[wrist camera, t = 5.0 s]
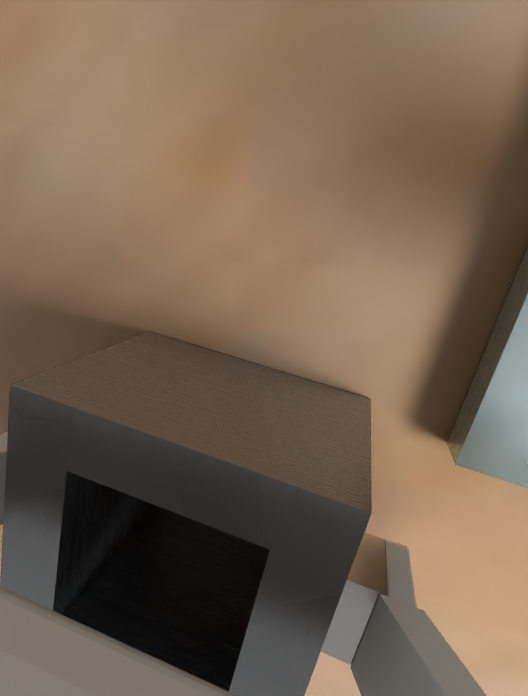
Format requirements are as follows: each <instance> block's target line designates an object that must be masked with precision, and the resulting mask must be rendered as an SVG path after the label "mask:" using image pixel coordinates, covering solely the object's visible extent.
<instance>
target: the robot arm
mask: <svg viewBox="0 0 528 696" xmlns="http://www.w3.org/2000/svg"><path fill="white" fill-rule="evenodd" d="M7 438H8V431H7V432H5V433H3V434H1V435H0V525H1V524H3V520H4V500H5V479H6V459H7ZM321 652H323V653H326V654H328V655H330V656H332V657H334V658H337V659H339V660H341V661H343V662H345V663H347V664H350V665H351V670H352V673H353V675H354V678H355V680H356V683H357V685H358V688H359V690H360V693H361V696H486V694H485V693H484V692H483V690H482V689H481V687H480V686H479V685H478V683H477V682H476V681H475V679H474V678H473V677H472V675H471V674H470V673H469V671H468V670H467V668H466V667H465V666H464V664H463V663H462V662H461V660H460V659H459V658H458V656H457V655H456V654H455V652H454V651H453V649H452V648H451V647H450V645H449V644H448V643H447V641H446V640H445V639H444V637H443V636H442V635H441V633H440V632H439V630H438V629H437V628H436V626H435V625H434V624H433V622H432V621H431V620H430V618H429V617H428V616H427V614H426V613H425V611H423V610H421V609H418V608H417V606H416V598H415V591H414V584H413V577H412V569H411V562H410V555H409V549H408V548H407V546H405V545H402V544H399V543H396V542H393V541H390V540H387V539H381V538H379V537H376V536H373V535H370V534H367V533H365V532H364V535H363V537H362V540H361V543H360V546H359V548H358V551H357V554H356V556H355V559H354V562H353V565H352V567H351V570H350V573H349V575H348V578H347V581H346V584H345V586H344V589H343V592H342V594H341V597H340V600H339V603H338V605H337V608H336V611H335V613H334V616H333V619H332V621H331V624H330V627H329V630H328V632H327V635H326V638H325V640H324V643H323V646H322V649H321ZM0 696H237V695H235V694H233V693H230V692H228V691H226V690H224V689H222V688H220V687H218V686H215V685H213V684H211V683H209V682H207V681H205V680H202V679H200V678H198V677H196V676H194V675H192V674H189V673H187V672H185V671H183V670H181V669H179V668H176V667H174V666H172V665H170V664H168V663H166V662H163V661H161V660H159V659H157V658H155V657H153V656H151V655H148V654H146V653H144V652H142V651H140V650H138V649H135V648H133V647H131V646H129V645H127V644H125V643H122V642H120V641H118V640H116V639H114V638H112V637H109V636H107V635H105V634H103V633H101V632H98V631H96V630H94V629H92V628H90V627H88V626H85V625H83V624H81V623H79V622H77V621H75V620H72V619H70V618H68V617H66V616H64V615H62V614H59V613H57V612H55V611H53V610H51V609H49V608H46V607H44V606H42V605H40V604H38V603H36V602H33V601H31V600H29V599H27V598H25V597H23V596H20V595H18V594H16V593H14V592H12V591H10V590H7V589H5V588H3V587H1V586H0Z"/></svg>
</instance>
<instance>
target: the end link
mask: <svg viewBox="0 0 528 696" xmlns="http://www.w3.org/2000/svg"><path fill="white" fill-rule="evenodd" d="M370 516H371V399H369V398H366V397H362V396H359V395H356V394H353V393H349V392H346V391H343V390H340V389H336V388H333V387H330V386H326V385H323V384H320V383H317V382H313V381H310V380H307V379H304V378H300V377H297V376H294V375H291V374H287V373H284V372H281V371H278V370H274V369H271V368H268V367H264V366H261V365H258V364H255V363H251V362H248V361H245V360H242V359H238V358H235V357H232V356H229V355H225V354H222V353H219V352H215V351H212V350H209V349H206V348H202V347H199V346H196V345H193V344H189V343H186V342H183V341H180V340H176V339H173V338H170V337H166V336H163V335H160V334H157V333H153V332H150V331H148V332H146V333H143V334H140V335H138V336H135V337H133V338H130V339H128V340H125V341H122V342H120V343H117V344H115V345H112V346H109V347H107V348H104V349H102V350H99V351H96V352H94V353H91V354H89V355H86V356H84V357H81V358H78V359H76V360H73V361H71V362H68V363H65V364H63V365H60V366H58V367H55V368H52V369H50V370H47V371H45V372H42V373H40V374H37V375H34V376H32V377H29V378H27V379H24V380H21V381H19V382H16V383H14V384H11V385H10V397H9V417H8V438H7V459H6V479H5V500H4V520H3V541H2V561H1V582H0V586H1V587H3V588H5V589H7V590H10V591H12V592H14V593H16V594H18V595H20V596H23V597H25V598H27V599H29V600H31V601H33V602H36V603H38V604H40V605H42V606H44V607H46V608H49V609H51V610H53V611H55V612H57V613H59V614H62V615H64V616H66V617H68V618H70V619H72V620H75V621H77V622H79V623H81V624H83V625H85V626H88V627H90V628H92V629H94V630H96V631H98V632H101V633H103V634H105V635H107V636H109V637H112V638H114V639H116V640H118V641H120V642H122V643H125V644H127V645H129V646H131V647H133V648H135V649H138V650H140V651H142V652H144V653H146V654H148V655H151V656H153V657H155V658H157V659H159V660H161V661H163V662H166V663H168V664H170V665H172V666H174V667H176V668H179V669H181V670H183V671H185V672H187V673H189V674H192V675H194V676H196V677H198V678H200V679H202V680H205V681H207V682H209V683H211V684H213V685H215V686H218V687H220V688H222V689H224V690H226V691H228V692H230V693H233V694H235V695H237V696H304V695H305V692H306V689H307V687H308V684H309V681H310V678H311V676H312V673H313V670H314V668H315V665H316V662H317V659H318V657H319V654H320V651H321V649H322V646H323V643H324V640H325V638H326V635H327V632H328V630H329V627H330V624H331V621H332V619H333V616H334V613H335V611H336V608H337V605H338V603H339V600H340V597H341V594H342V592H343V589H344V586H345V584H346V581H347V578H348V575H349V573H350V570H351V567H352V565H353V562H354V559H355V556H356V554H357V551H358V548H359V546H360V543H361V540H362V537H363V535H364V532H365V529H366V527H367V524H368V521H369V519H370Z"/></svg>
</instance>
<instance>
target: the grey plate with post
mask: <svg viewBox="0 0 528 696" xmlns="http://www.w3.org/2000/svg"><path fill="white" fill-rule="evenodd" d="M447 445H448V447H449V450H450V452H451V455H452V457H453V460H454V463H455V465H458V466H461V467H465V468H468V469H471V470H474V471H477V472H480V473H483V474H486V475H489V476H492V477H495V478H499V479H502V480H505V481H508V482H511V483H514V484H517V485H520V486H523V487H526V488H528V247H527V250H526V252H525V255H524V257H523V259H522V262H521V264H520V267H519V269H518V272H517V274H516V276H515V279H514V281H513V284H512V286H511V289H510V291H509V294H508V296H507V298H506V301H505V303H504V306H503V308H502V311H501V313H500V315H499V318H498V320H497V323H496V325H495V328H494V330H493V332H492V335H491V337H490V340H489V342H488V345H487V347H486V350H485V352H484V354H483V357H482V359H481V362H480V364H479V367H478V369H477V371H476V374H475V376H474V379H473V381H472V384H471V386H470V388H469V391H468V393H467V396H466V398H465V401H464V403H463V405H462V408H461V410H460V413H459V415H458V418H457V420H456V423H455V425H454V427H453V430H452V432H451V435H450V437H449V440H448V442H447Z"/></svg>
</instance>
